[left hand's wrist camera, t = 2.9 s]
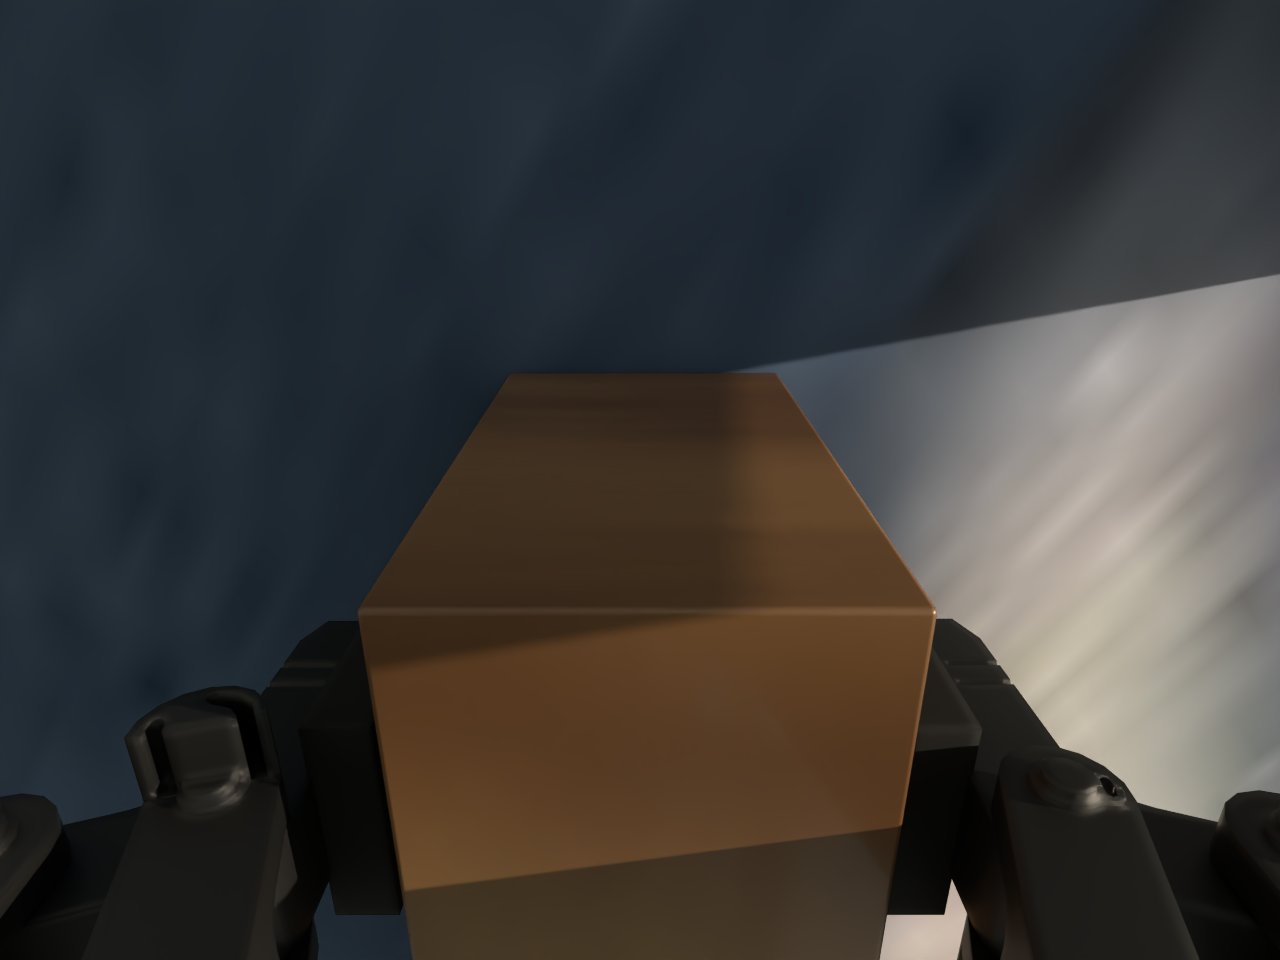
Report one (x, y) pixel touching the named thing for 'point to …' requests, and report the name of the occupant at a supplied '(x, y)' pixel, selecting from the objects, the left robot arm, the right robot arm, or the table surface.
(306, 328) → the table surface
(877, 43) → the table surface
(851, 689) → the bar
